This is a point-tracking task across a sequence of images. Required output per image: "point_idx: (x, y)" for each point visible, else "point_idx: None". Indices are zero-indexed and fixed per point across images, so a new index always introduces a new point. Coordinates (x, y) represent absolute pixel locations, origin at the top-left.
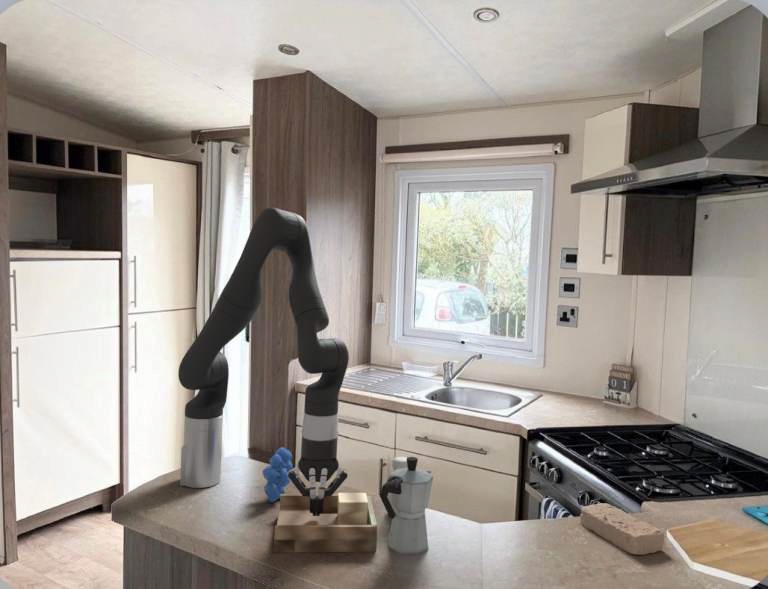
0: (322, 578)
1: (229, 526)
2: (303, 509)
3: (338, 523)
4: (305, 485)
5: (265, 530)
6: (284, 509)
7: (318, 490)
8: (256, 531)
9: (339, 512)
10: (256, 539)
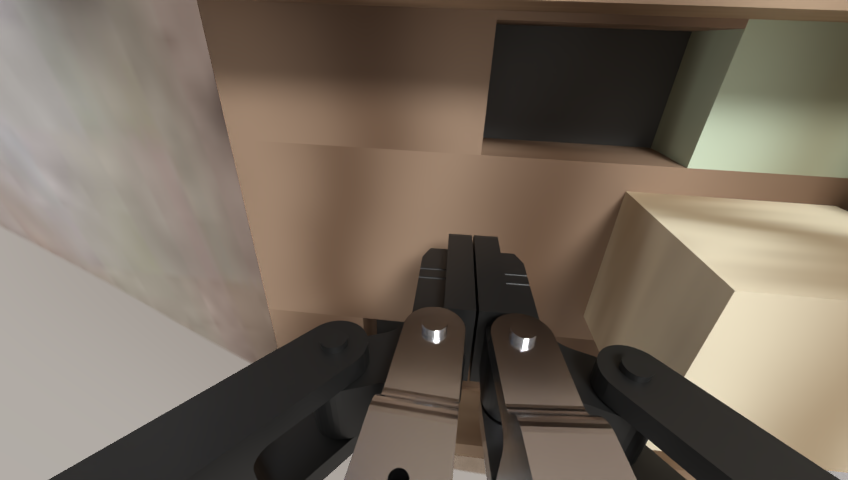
0: (463, 460)
1: (27, 116)
2: (389, 72)
3: (590, 326)
4: (328, 385)
5: (220, 174)
6: (247, 62)
7: (493, 367)
8: (182, 181)
9: None
10: (211, 251)
